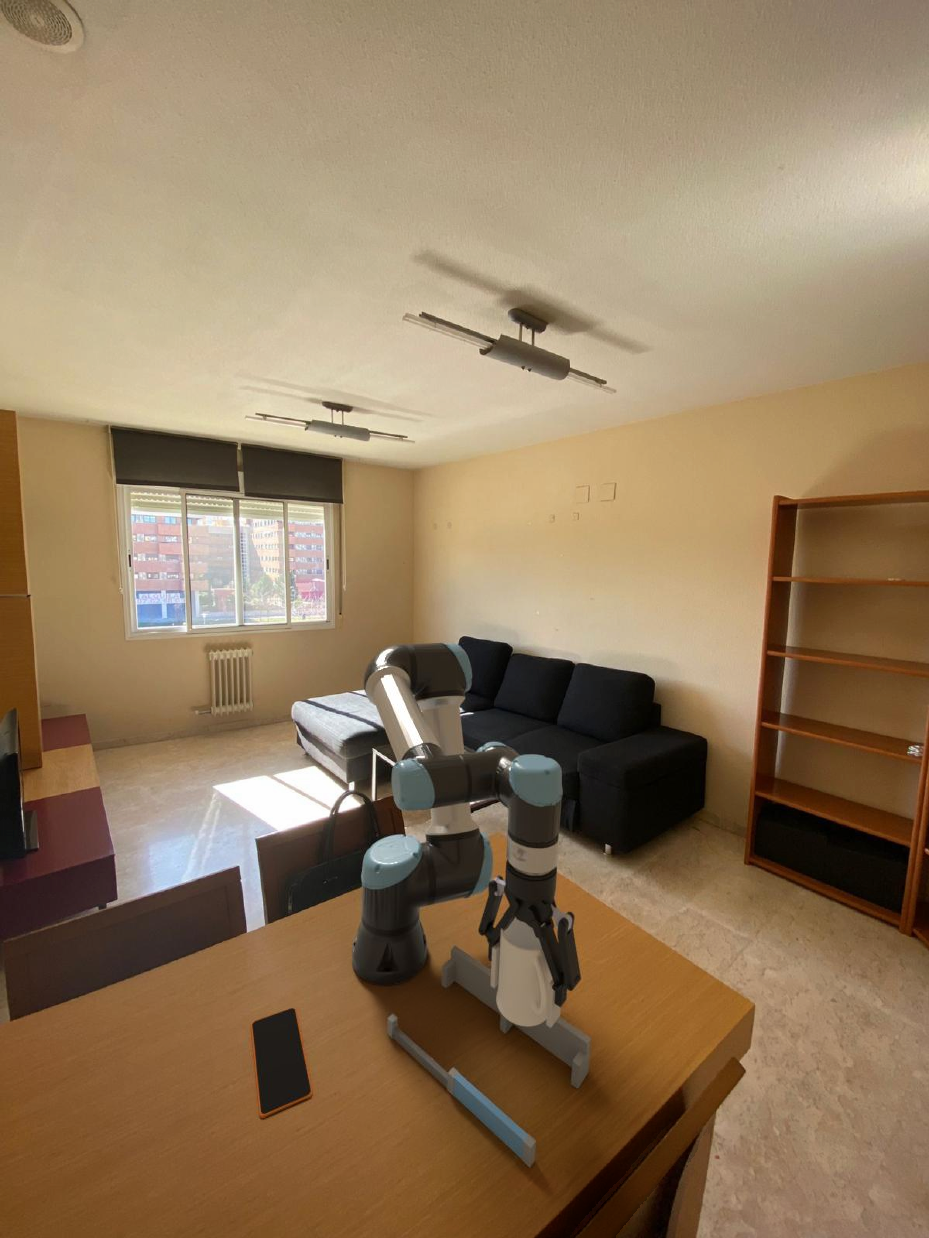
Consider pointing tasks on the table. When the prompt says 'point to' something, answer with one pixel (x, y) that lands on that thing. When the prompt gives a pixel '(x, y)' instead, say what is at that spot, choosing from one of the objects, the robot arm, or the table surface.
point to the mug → (522, 976)
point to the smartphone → (279, 1062)
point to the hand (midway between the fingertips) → (524, 999)
